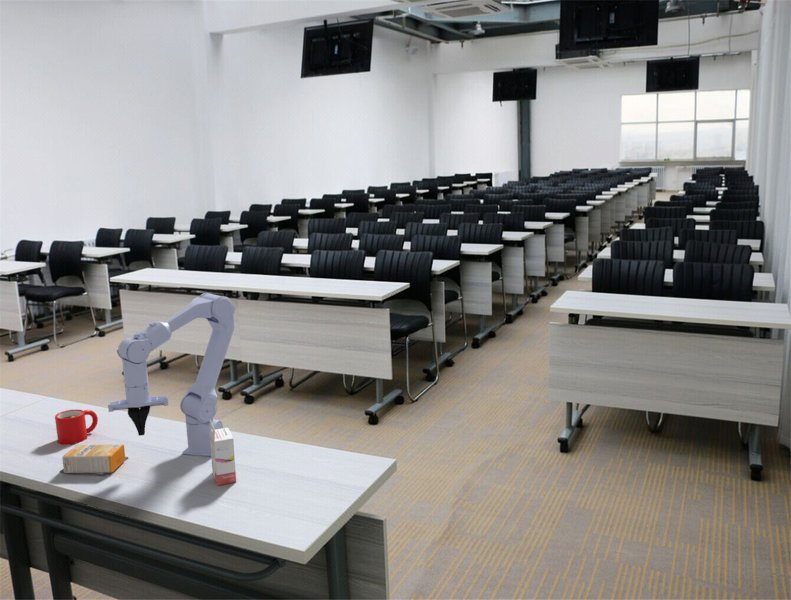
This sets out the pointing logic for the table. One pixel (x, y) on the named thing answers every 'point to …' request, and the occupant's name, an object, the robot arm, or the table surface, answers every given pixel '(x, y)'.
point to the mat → (92, 473)
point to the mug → (74, 426)
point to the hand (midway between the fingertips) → (141, 434)
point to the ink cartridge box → (222, 455)
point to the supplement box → (93, 458)
